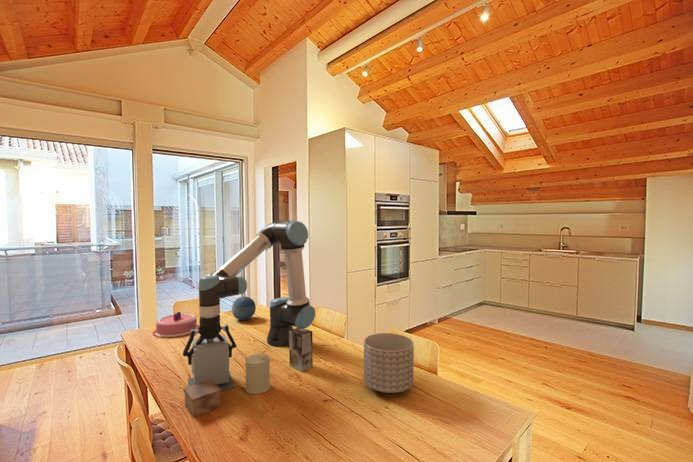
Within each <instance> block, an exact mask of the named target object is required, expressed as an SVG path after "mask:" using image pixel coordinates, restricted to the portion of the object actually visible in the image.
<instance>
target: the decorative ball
mask: <svg viewBox="0 0 693 462" xmlns="http://www.w3.org/2000/svg"><path fill="white" fill-rule="evenodd" d="M256 308H257V307H256V302H255V301H254V299H252V298H251V297H248V296H240V297H238V298H237V299H236V298H235V300H234V301H233V302H232V305H231V314H232V315H233V317H234V318H236V319H237V320H239V321H248V320H249V319H251V318H252V317H253V316H254V315H255V313H256V311H257V310H256Z"/></svg>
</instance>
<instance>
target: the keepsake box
mask: <svg viewBox="0 0 693 462" xmlns="http://www.w3.org/2000/svg"><path fill="white" fill-rule="evenodd" d="M183 392H184V406H185V408H186V410H188V412H189V413H190V415H192V417H193V418H196V417H197V416H200V415H203V414H205V413H208V412H210V411H213V410H216V409H218V408H221V406H222V405H221V402H222V401H221V399H222V398H221V393H223V392H222V389H221V388H220V387H219V386H218V385H217V384H216V383H214V382H213V381H212V380H208V381H205V382H202V383H199V384H196V385H192V386H189V387H188V386H186V387H184V388H183Z"/></svg>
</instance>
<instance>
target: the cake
mask: <svg viewBox="0 0 693 462" xmlns="http://www.w3.org/2000/svg"><path fill="white" fill-rule="evenodd" d="M197 320H198V319H197V316H196V315H193V314H191V313H181V311H177V312H175V313H174V314H170V315H167V316H164V317H161V318H160V319H158V320H156V324H155V327H156V328H155V330H153V332H152V334H153V335H152V336H153V337H155V338H158V337H159V338H160V339H171V338H180V337H185V336H190V335H191V330H192V329H194V330H199V327H200V324H197Z"/></svg>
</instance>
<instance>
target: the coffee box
mask: <svg viewBox="0 0 693 462" xmlns="http://www.w3.org/2000/svg"><path fill="white" fill-rule="evenodd" d="M288 347H289V367H291V368H293V369H295V370H297V371H300V372H305V371H307V370H311V369H312V368H313V367H314V365H313V358H314V357H313V331H312V330H310V329H308V328H301V327H299V328H297V327H295V328H293V330H290V331H289V345H288Z"/></svg>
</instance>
